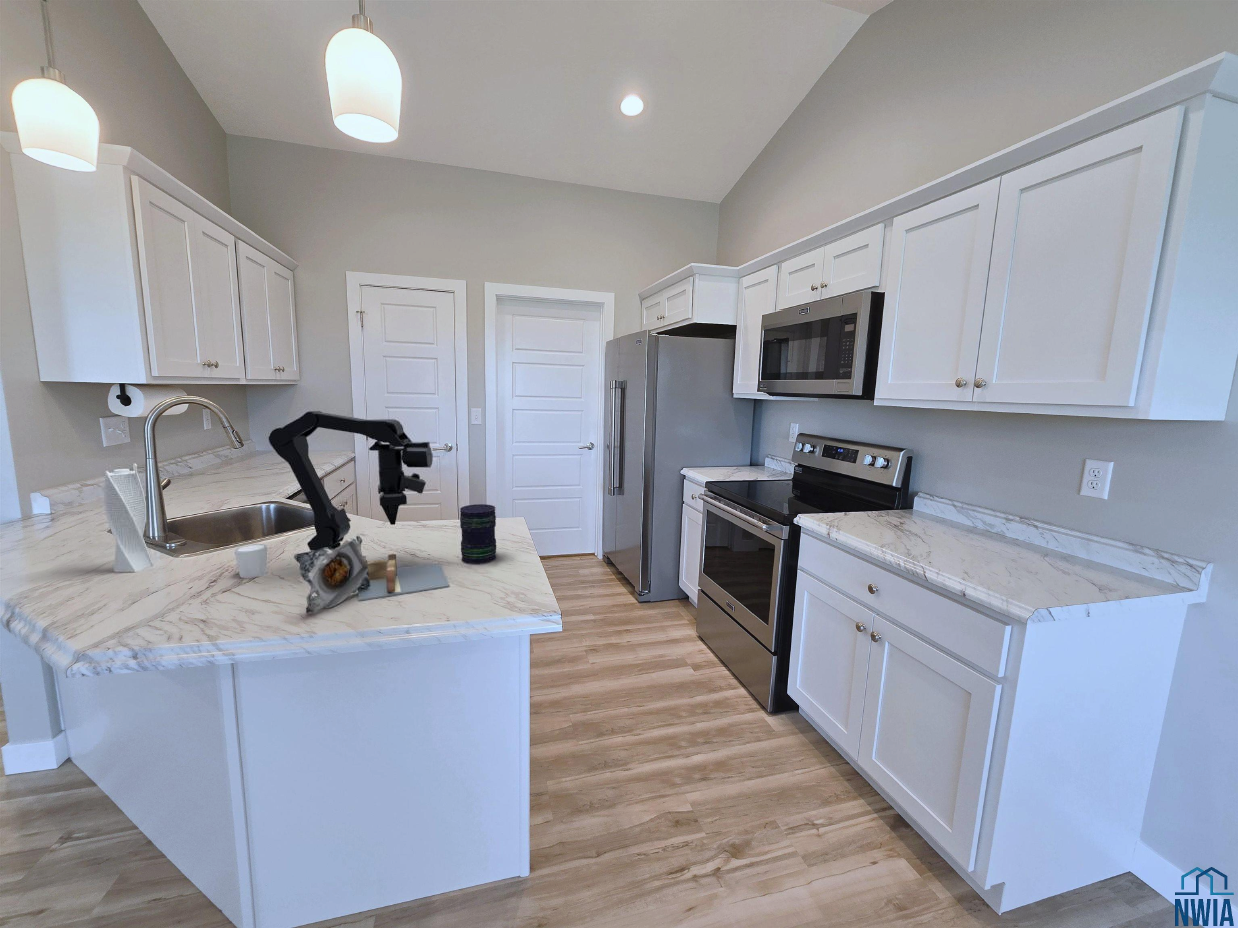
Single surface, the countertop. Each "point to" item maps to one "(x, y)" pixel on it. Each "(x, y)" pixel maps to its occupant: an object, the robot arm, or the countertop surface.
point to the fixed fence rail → (377, 569)
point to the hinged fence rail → (391, 573)
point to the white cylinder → (251, 560)
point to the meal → (333, 573)
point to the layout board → (407, 582)
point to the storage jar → (478, 533)
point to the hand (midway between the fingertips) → (392, 524)
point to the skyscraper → (127, 519)
